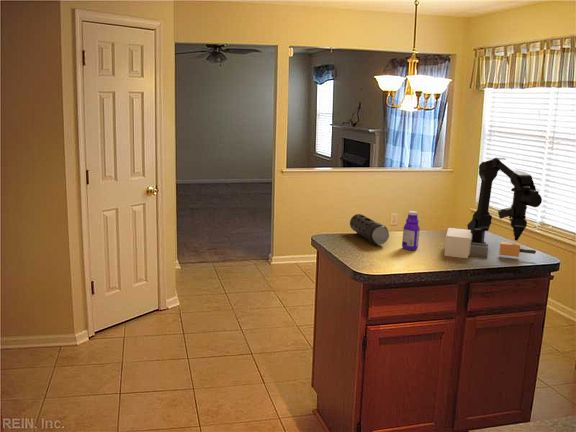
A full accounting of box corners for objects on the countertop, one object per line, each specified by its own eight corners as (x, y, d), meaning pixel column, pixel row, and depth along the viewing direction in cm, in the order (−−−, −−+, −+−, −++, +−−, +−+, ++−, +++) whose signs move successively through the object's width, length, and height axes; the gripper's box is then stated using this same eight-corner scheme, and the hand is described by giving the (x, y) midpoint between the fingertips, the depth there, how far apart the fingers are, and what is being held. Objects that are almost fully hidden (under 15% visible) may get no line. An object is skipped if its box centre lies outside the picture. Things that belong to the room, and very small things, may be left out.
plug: (499, 254, 259) (500, 243, 258) (499, 252, 262) (500, 241, 261) (535, 258, 254) (537, 247, 253) (534, 256, 258) (536, 245, 257)
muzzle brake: (366, 233, 297) (367, 213, 295) (389, 247, 271) (391, 225, 269) (348, 233, 295) (349, 213, 292) (370, 247, 268) (372, 225, 266)
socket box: (444, 255, 259) (446, 235, 257) (446, 246, 276) (448, 227, 274) (487, 260, 254) (489, 240, 252) (486, 250, 271) (489, 231, 269)
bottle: (420, 249, 268) (423, 212, 265) (413, 251, 264) (416, 213, 261) (406, 246, 273) (409, 209, 270) (399, 248, 269) (402, 211, 265)
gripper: (499, 198, 265) (495, 232, 268) (500, 204, 248) (496, 240, 251) (525, 200, 262) (521, 234, 265) (529, 207, 244) (524, 243, 248)
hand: (515, 238), depth 257 cm, fingers open, 9 cm apart
